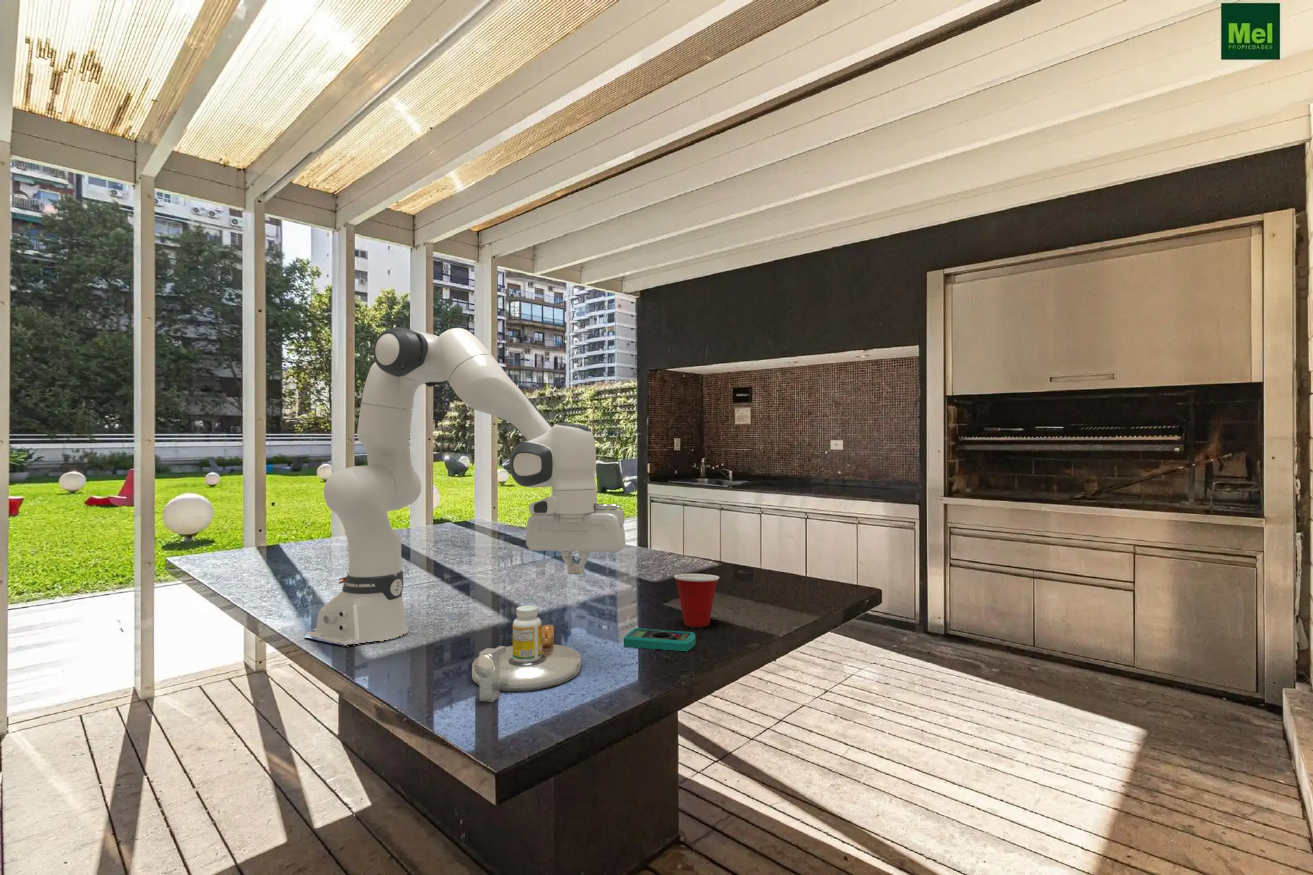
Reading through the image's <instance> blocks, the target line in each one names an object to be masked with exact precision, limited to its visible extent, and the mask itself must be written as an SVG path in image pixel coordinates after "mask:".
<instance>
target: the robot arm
mask: <svg viewBox="0 0 1313 875" xmlns="http://www.w3.org/2000/svg"><path fill="white" fill-rule="evenodd" d="M372 352H373V353H372V354H373V359H374V362H373V364H371V367H370V369H369V371H368V374H367V377H366V379H365V383H364V387H363V392H362V396H361V402H360V409H359V417H358V421H357V430H356V436H357V439H358V440H359V442H360V443H361V445H363V447H364V449H365V451H366V456H367V465H355V466H353V465H352V466H349V467H346V468H343V469H340V470H337V471H335V472H333V473H331V474H330V475H329V476H328V477H327V479H326V481H325V483H324V486H323V499H324V502H325V504H326V505H327V507H328V508H329V509H330V510H331V511H332V512H334V513H335V514H336V515H337V516H338V518H339V520H340V521H341V524H342V525H343V529H344V532H345V534H346V539H347V545H348V546H347V547H348V548H347V549H348V574H347V576H345V577H340V578H338V580H339V582H338V584H343V585H342V588H341V592H339V593H338V594H337V595H336V596H335V597H333V598H332V599H331V600H330V601H328V603H326V604H325V605H323V607H321V608H320V610H319V611H318V615H317V619H316V627H315V628H313V629H310V630H309V631H312V630H316V631H315V632H309V631H307V632H308V633H307V632H306V633H305V634H309V636H314V637H317V638H319V639H324V640H327V641H332V642H335V643H341V644H344V645H347V644H353V643H363V642H368V641H369V642H371V641H380V642H385V641H384V640H386V641H390V640H394V639H396V638H400V637H403V636H404V635H406V634H407V633H409V632H410V629H409V626H408V623H407V619H406V618H407V617H406V613H405V608H404V607H405V606H404V601H403V590H404V571H403V569H402V538H401V535H399V534H398V532H396V531H395V530H394V529H393V527H392V525H391V523H390V520H389V519H390V518H389V516H388V512H392V511H398V510H400V509H403V508H406V507H408V506H410V505H412V504H413V503H415V502H416V501H417V500H418V499H419V496H420V495H421V492H422V482H421V478H420V476H419V475H418V473H417V472H416V470H414V467H413V463H412V459H411V452H410V434H411V425H412V417H413V416H412V415H413V409H414V400H415V394H416V392H417V390H418V388H420V386H421V385H423V384H425V385H426V386H427V387H429V388H432V387H434V386H438V385H444V384H445V385H446V384H449V386H450V387H451V388H452V390H453V391H454V393H455V394H456V396H457V397H458V398H459V399H460V400H461V401H462V402H463V403H464V404H466V406H468V407H469V408H470V409H473V410H474V411H478V412H480V413H485V414H488V415H491V416H495V417H497V418H499V419H502V420H504V421H506V422H507V423H510V424H511V425H512V426H514V428H516V429H517V430H518V431H519V432H520V434H522V435H523V437H524V438H525V439H526V440H527V441H524V442H521V443H519V444H517V445H516V446H515V447H514V448H513V450H512V451H511V454H510V455H509V462H508V467H509V472H510V475H511V477H512V478H513V480H514V482H515V483H516V484H518V485H519V486H522V487H527V488H532V489H533V488H534V489H535V488H548V487H551V496H548V497H545V498H543V499H540V500H537V501H534V502H532V503H529V506H528V511H529V513H530V514H531V515H530V516H529V517H528V519H527V522H526V530H525V540H526V541H525V543H526V547H527V548H528V550H529V551H537V552H538V551H544V552H561V558H562V560H563V562H564V563H565V565H566V566H567V567H566V568H567V569H566V570H567V574H568V575H584V574H585V565H586V563H587V562H588V559H589V557H590V553H619V552H621V551H623V549H624V548H625V547H626V544H627V543H626V534H625V533H626V532H625V527H624V524H625V511H624V509H623V508H622V507H620V506H618V504H615V503H610V504H608V503H607V504H606V503H605V504H604V503H598V495H597V494H598V490H597V489H598V488H597V484H596V479H595V474H596V470H597V452H596V451H597V450H596V442H595V437H594V434H593V431H592V429H591V428H590V427H588V426H586V425H583V424H579V423H571V422H558V423H557V422H556V423H555V424H552V423H551V422H550V421H549V420H548V419H547V418H546V416H545V415H544V414H543V413H542V411H541V410H540V409H539V408H538V407H537V406H536V405H535V404H534V403H533V402H532V400H530V398H529V397H527V395H526V394H525V393H524V392H523V391H522V390H521V389H520V387H518V386H517V385H516V383H515V382H514V381H513V380H512V379H511V377H509V375H508V374H507V373H506V372H505V370H504V369H503V367H501V365H500V363H499V362H498V361H497V360H496V359H495V357H494V356H493V355H492V353H491V351H489V349H488V348H487V347H486V346H485V345H484V344H483V342H482V341H480V339H479V338H478V337H476V335H474V334H473V333H472V332H471V331H469V330H467V329H465V328H461V327H454V328H449V329H447V330H445V331H444V332H442V333H441V334H440V335H439V336H438V335H435V334H432V333H429V332H422V331H418V330H412V329H409V328H406V327H390V328H387V329H385V330H383V331H382V332H381V333H380V334H379V335H378V336H377V337H376V339H375V342H374V344H373V351H372ZM573 552H578V557H579V558H580V560H579V562H578V563H574V561H573V559H572V557H571V556H573ZM310 634H311V635H310ZM403 634H404V635H403ZM399 636H400V637H399ZM389 639H390V640H389Z"/></svg>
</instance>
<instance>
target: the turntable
mask: <svg viewBox="0 0 1313 875" xmlns="http://www.w3.org/2000/svg"><path fill="white" fill-rule="evenodd" d="M554 628H555V626H554V625H553V624H544V625H541V658H540V659H539V660H537V661H535V662H531V663H518V662H515V661H514V660H513V645H509V646H506V652H505V653H504V654H502V655H500V691H503V692H507V691H508V692H524V691H533V690H540V689H545V688H550V687H554V686H557V685H561V684H564V683H566V682H568V681H570V680H571V679H573V678H575V677H576V676H578V674H580V671H581V668H582V661H581V660H582V658H581V654H580V652H579V651H578V650H576V649H574V648H572V647H570V646H565V645H560V644H555V642H554V641H555V635H554V634H555V633H554V632H555V629H554ZM474 661H475V659H474V660H473V661H472V664H471V679H472V680H473V682H474V683H475V684H477V685H478V686H480V676H478V675H477V674H476V672H475V670H474Z"/></svg>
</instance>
